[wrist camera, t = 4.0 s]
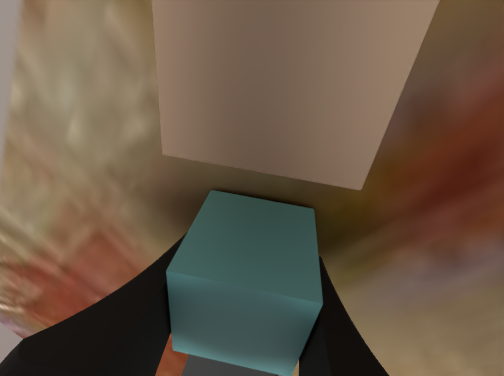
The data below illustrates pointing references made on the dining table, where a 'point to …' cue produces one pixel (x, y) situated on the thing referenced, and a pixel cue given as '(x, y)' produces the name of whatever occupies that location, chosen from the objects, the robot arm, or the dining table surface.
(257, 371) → the slate block
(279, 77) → the tan cube
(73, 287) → the dining table surface
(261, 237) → the teal block
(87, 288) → the dining table surface
